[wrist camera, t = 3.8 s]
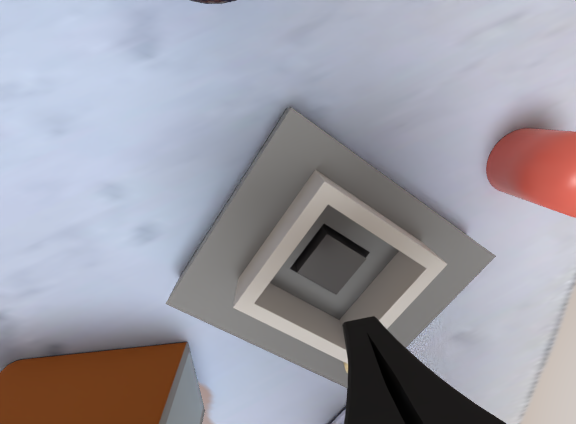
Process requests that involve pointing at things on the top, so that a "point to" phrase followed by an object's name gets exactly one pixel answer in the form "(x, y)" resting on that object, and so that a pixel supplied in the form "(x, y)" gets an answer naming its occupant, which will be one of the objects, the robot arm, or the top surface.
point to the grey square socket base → (296, 236)
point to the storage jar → (213, 1)
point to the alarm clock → (104, 388)
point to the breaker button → (330, 259)
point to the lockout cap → (536, 167)
